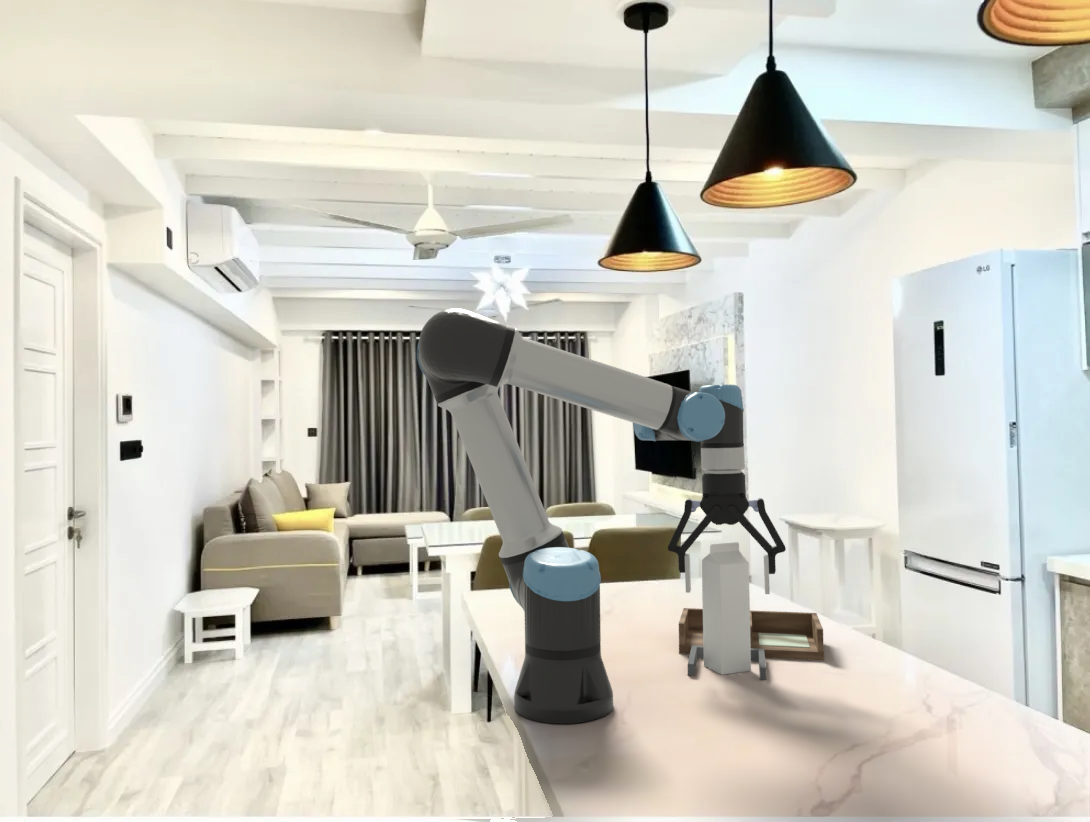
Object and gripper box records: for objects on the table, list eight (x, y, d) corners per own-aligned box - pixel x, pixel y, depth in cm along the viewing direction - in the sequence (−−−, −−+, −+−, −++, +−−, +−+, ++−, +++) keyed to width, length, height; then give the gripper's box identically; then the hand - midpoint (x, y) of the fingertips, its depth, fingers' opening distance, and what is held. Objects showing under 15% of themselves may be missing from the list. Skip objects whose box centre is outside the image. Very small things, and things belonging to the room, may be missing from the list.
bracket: (766, 679, 134) (765, 667, 134) (687, 675, 137) (687, 663, 137) (764, 659, 146) (764, 648, 146) (691, 656, 149) (691, 645, 149)
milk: (703, 666, 143) (700, 542, 144) (732, 662, 145) (728, 539, 146) (722, 675, 137) (718, 546, 138) (752, 671, 139) (748, 543, 140)
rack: (824, 660, 145) (823, 630, 145) (679, 653, 151) (678, 624, 151) (817, 640, 159) (816, 612, 159) (684, 634, 165) (683, 608, 165)
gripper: (795, 469, 143) (799, 588, 142) (654, 471, 149) (658, 586, 148) (798, 471, 136) (802, 597, 135) (650, 474, 141) (654, 594, 141)
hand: (727, 592), depth 142 cm, fingers open, 13 cm apart
